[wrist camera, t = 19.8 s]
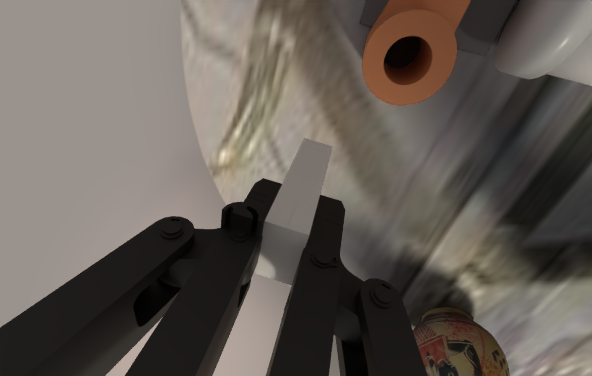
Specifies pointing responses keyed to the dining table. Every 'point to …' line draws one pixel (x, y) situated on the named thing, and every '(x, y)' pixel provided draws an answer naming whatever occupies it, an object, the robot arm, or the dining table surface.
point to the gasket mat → (462, 22)
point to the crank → (432, 55)
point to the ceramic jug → (458, 345)
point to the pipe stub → (548, 40)
